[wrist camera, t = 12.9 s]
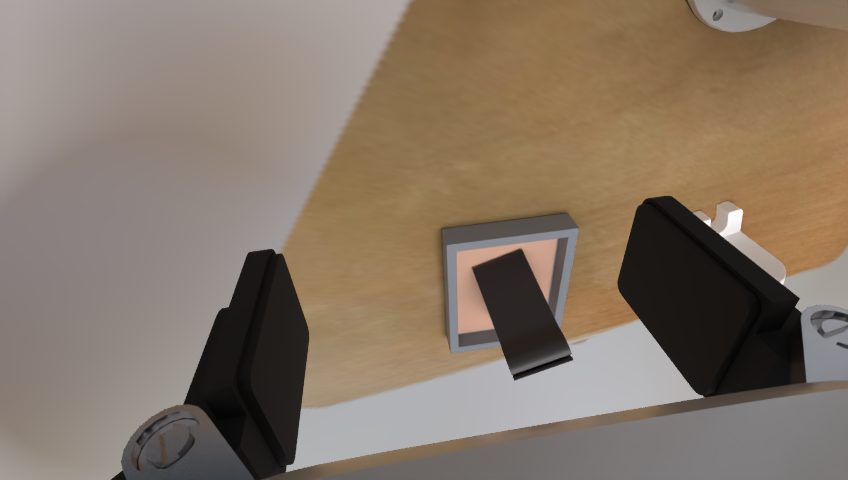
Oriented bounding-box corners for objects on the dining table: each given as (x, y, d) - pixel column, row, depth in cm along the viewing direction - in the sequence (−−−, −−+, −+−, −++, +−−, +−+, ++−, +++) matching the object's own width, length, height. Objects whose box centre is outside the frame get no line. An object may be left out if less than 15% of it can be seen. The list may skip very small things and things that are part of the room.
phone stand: (471, 266, 47) (501, 350, 37) (521, 247, 47) (565, 327, 37) (492, 316, 52) (522, 401, 43) (537, 300, 52) (579, 382, 42)
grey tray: (567, 213, 46) (579, 228, 43) (549, 320, 56) (558, 337, 53) (441, 228, 45) (446, 245, 42) (446, 335, 55) (450, 353, 52)
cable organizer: (683, 274, 54) (740, 332, 46) (685, 215, 48) (751, 269, 40) (723, 260, 54) (788, 317, 46) (731, 199, 48) (807, 251, 40)
